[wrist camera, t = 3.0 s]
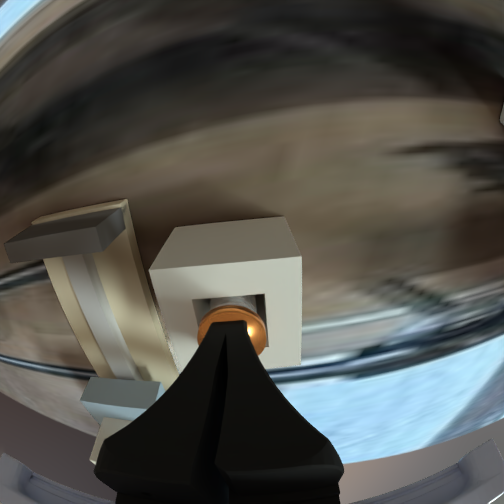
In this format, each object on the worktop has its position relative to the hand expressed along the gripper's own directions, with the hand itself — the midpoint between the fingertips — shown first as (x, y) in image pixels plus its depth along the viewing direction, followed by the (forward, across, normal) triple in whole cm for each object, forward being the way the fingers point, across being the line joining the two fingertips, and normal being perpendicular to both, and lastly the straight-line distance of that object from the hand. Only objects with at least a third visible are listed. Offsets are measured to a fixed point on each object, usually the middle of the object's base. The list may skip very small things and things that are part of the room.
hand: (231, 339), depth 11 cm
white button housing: (+6, 0, 0) cm, 6 cm away
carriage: (+4, +9, +10) cm, 14 cm away
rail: (+6, +9, +5) cm, 12 cm away
